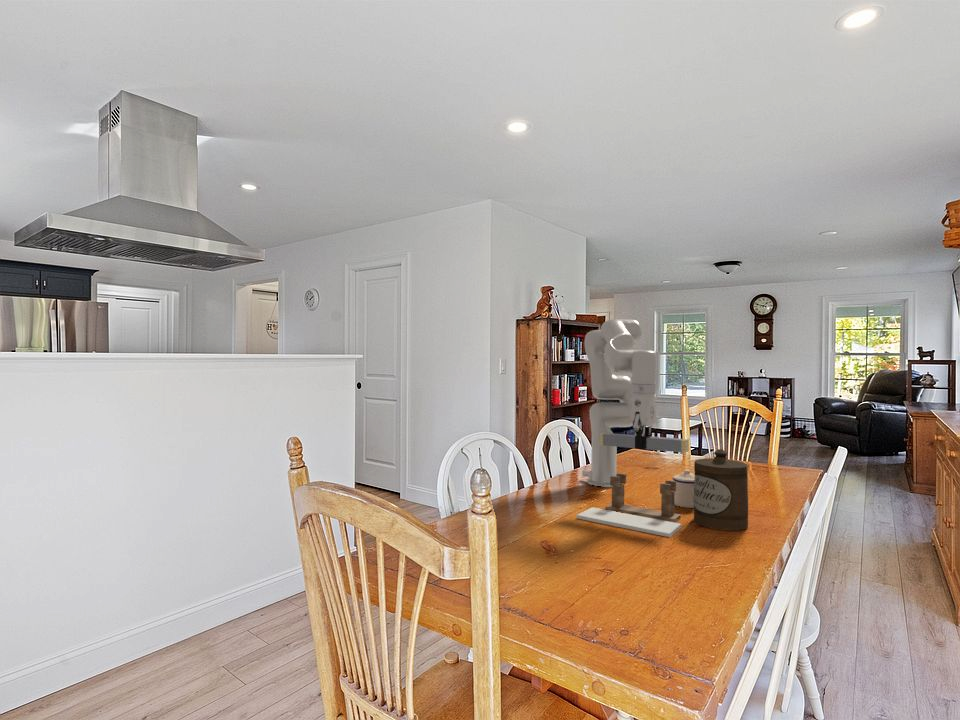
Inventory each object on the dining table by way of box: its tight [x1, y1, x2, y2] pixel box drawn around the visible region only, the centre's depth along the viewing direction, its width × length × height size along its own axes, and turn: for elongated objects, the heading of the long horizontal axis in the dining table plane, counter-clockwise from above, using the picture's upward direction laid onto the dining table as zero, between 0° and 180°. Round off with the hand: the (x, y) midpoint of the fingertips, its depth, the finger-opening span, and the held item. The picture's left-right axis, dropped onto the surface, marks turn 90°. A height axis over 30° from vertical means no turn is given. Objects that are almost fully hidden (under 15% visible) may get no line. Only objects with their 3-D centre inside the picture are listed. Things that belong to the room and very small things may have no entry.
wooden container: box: [693, 448, 749, 532], centre depth 161 cm, size 15×15×22 cm
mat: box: [576, 506, 683, 538], centre depth 161 cm, size 28×11×1 cm, turn 54°
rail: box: [600, 433, 690, 454], centre depth 170 cm, size 27×4×4 cm, turn 54°
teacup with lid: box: [672, 469, 695, 509], centre depth 182 cm, size 12×9×12 cm
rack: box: [604, 472, 682, 523], centre depth 170 cm, size 22×6×11 cm, turn 54°
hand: (642, 447), depth 170 cm, fingers closed on rail, 3 cm apart
